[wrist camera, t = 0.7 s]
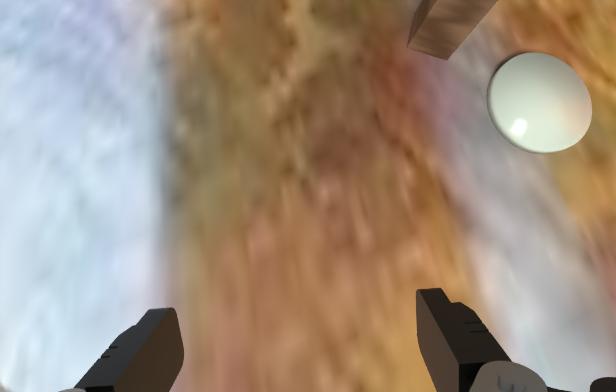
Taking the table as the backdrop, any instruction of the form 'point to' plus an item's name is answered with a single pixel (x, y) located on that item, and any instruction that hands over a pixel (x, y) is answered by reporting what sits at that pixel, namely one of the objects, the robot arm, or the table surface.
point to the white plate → (539, 103)
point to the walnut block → (445, 25)
